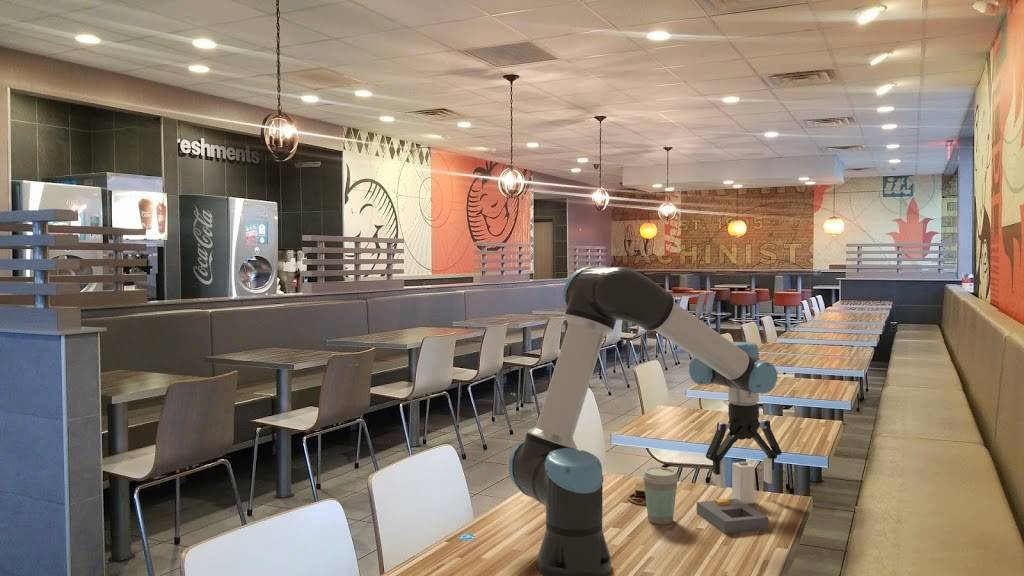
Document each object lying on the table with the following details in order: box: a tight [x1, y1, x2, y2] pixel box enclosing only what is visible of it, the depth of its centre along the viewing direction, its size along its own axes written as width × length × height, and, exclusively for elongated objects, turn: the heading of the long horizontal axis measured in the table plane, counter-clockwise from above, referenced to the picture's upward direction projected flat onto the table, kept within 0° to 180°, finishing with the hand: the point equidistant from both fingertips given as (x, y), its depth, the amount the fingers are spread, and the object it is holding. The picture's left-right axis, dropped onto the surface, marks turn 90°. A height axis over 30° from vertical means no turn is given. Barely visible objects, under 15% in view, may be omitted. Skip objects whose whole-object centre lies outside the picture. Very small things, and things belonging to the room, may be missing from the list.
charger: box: [731, 461, 756, 505], centre depth 191 cm, size 4×4×11 cm
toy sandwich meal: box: [627, 481, 647, 506], centre depth 194 cm, size 9×10×4 cm
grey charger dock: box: [696, 498, 769, 535], centre depth 177 cm, size 11×14×4 cm
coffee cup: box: [642, 466, 680, 525], centre depth 179 cm, size 8×9×12 cm
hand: (743, 484), depth 191 cm, fingers open, 13 cm apart
